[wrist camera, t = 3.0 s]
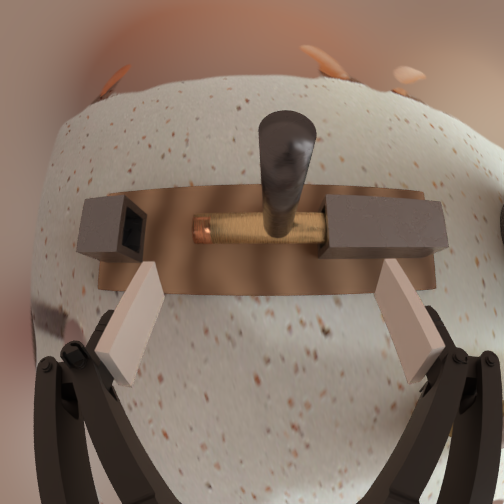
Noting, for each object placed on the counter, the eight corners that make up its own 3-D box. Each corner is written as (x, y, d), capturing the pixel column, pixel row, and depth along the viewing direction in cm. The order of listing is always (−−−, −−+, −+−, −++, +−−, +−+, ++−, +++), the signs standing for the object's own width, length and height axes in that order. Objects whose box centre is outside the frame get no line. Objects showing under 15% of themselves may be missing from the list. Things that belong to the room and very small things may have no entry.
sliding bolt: (413, 221, 31) (507, 149, 12) (416, 246, 30) (520, 189, 12) (200, 219, 32) (132, 121, 14) (198, 247, 31) (120, 168, 13)
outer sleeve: (417, 218, 33) (440, 201, 26) (422, 257, 31) (448, 247, 25) (315, 214, 33) (325, 194, 27) (318, 259, 32) (329, 246, 26)
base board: (418, 195, 35) (423, 191, 33) (430, 289, 32) (436, 288, 30) (114, 197, 37) (109, 193, 36) (103, 289, 34) (97, 288, 33)
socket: (147, 214, 35) (124, 194, 28) (142, 263, 33) (116, 251, 27) (111, 216, 35) (85, 199, 28) (105, 262, 34) (76, 252, 27)
